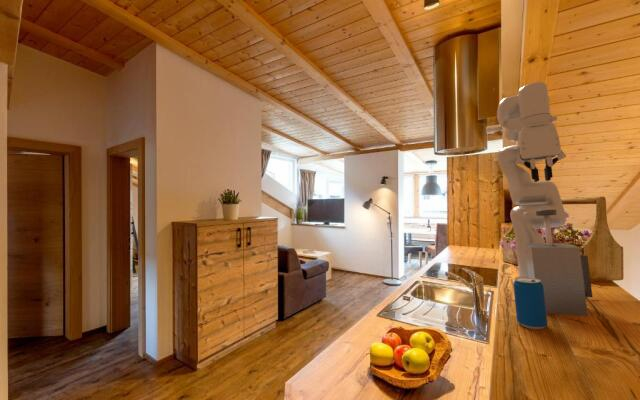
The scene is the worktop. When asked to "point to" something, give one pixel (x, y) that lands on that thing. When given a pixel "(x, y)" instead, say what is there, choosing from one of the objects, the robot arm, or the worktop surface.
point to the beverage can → (530, 302)
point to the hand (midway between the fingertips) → (542, 180)
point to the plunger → (547, 223)
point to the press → (560, 276)
